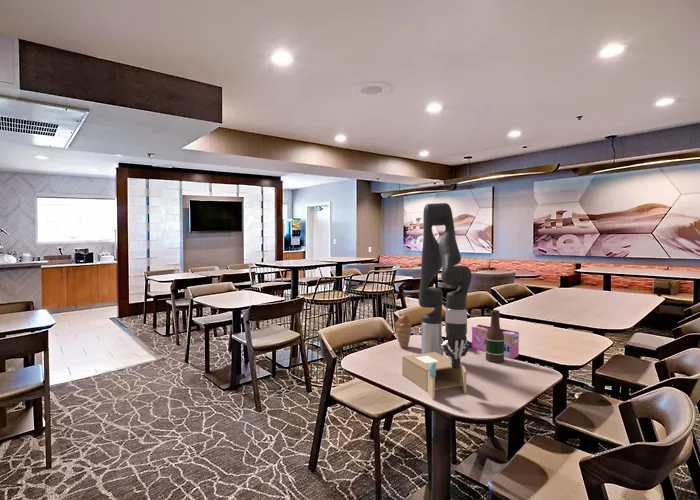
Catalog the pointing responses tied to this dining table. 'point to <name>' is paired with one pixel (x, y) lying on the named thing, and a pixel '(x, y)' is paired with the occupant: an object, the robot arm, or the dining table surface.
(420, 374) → the carton
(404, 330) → the brown ridged tapered piece
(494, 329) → the beer bottle
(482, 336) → the gum box
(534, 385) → the dining table surface
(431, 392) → the flap
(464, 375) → the flap
